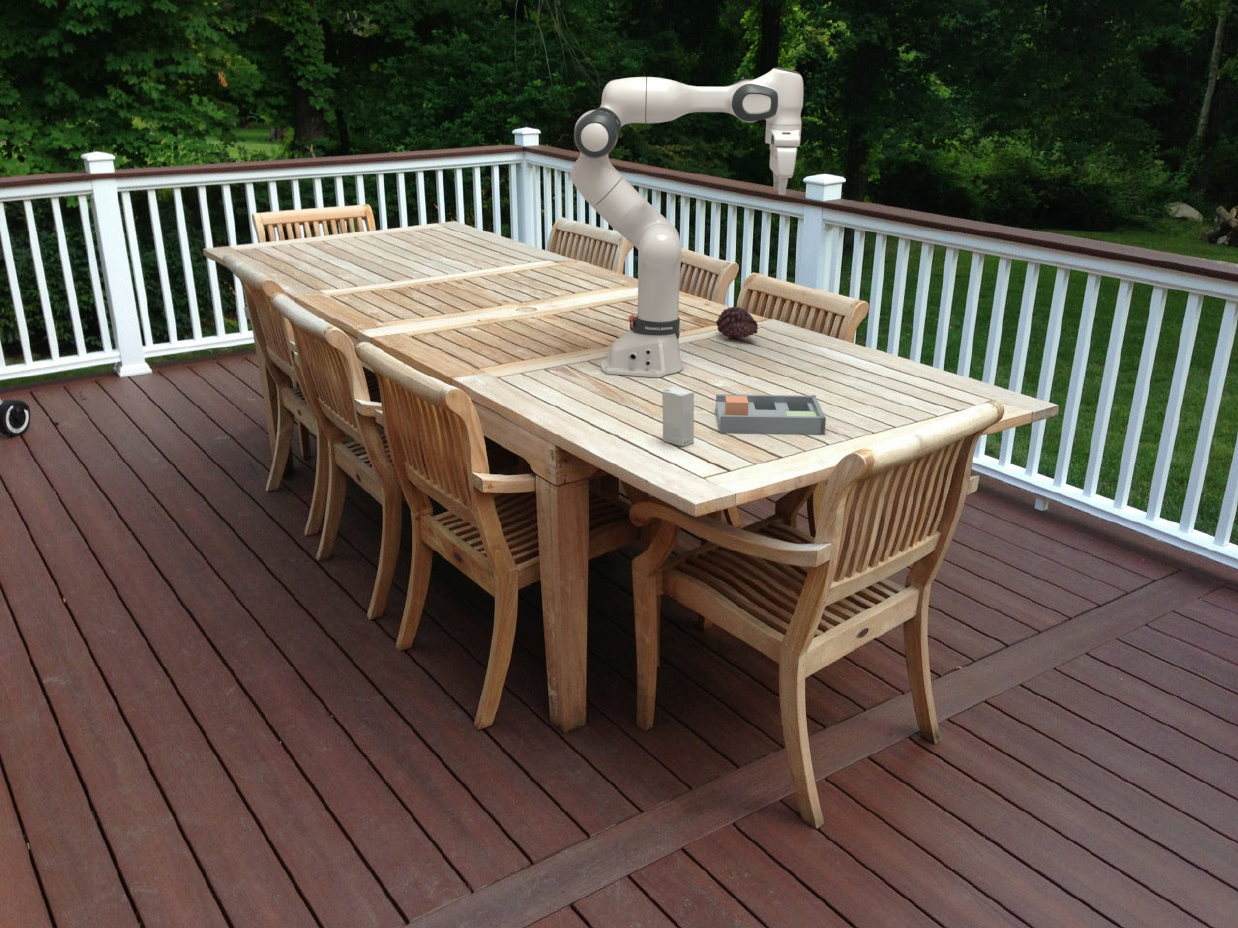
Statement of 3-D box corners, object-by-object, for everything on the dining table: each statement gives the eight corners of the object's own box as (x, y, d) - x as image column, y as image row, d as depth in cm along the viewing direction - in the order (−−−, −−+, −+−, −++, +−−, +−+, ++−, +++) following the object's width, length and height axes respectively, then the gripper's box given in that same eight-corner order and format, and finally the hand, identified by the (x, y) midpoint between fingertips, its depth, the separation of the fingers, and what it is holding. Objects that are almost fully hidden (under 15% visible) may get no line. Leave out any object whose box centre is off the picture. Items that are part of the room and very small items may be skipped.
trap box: (720, 432, 251) (720, 416, 250) (715, 409, 267) (716, 393, 266) (824, 434, 251) (825, 418, 250) (813, 410, 267) (815, 395, 265)
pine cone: (767, 344, 323) (769, 311, 320) (740, 348, 318) (742, 315, 315) (730, 331, 337) (732, 299, 334) (704, 335, 332) (705, 303, 329)
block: (726, 418, 253) (726, 402, 252) (724, 411, 258) (725, 395, 256) (747, 419, 253) (748, 402, 252) (745, 412, 258) (746, 396, 256)
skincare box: (694, 443, 245) (696, 391, 241) (681, 448, 242) (683, 396, 238) (673, 436, 249) (675, 385, 245) (660, 441, 246) (661, 389, 241)
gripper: (765, 132, 286) (762, 186, 291) (775, 139, 267) (771, 197, 272) (790, 132, 286) (786, 186, 291) (801, 140, 267) (797, 197, 272)
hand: (779, 192), depth 281 cm, fingers open, 8 cm apart
